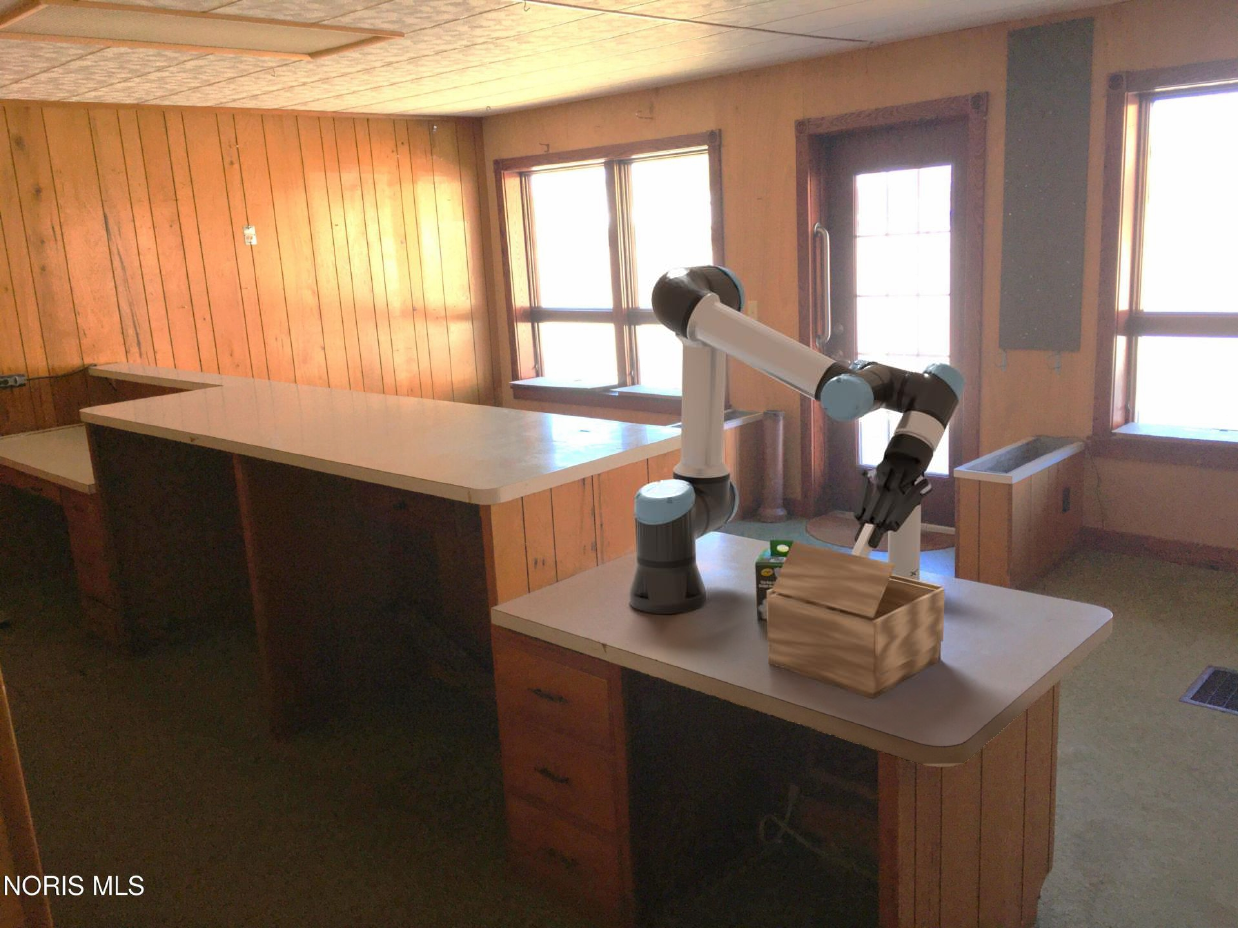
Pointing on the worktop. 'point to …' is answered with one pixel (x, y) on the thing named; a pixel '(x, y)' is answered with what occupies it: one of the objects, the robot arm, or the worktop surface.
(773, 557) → the chalk box
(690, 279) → the robot arm
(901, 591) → the light wood open box
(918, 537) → the travel mug
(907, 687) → the worktop surface
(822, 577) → the flap
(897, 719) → the worktop surface
